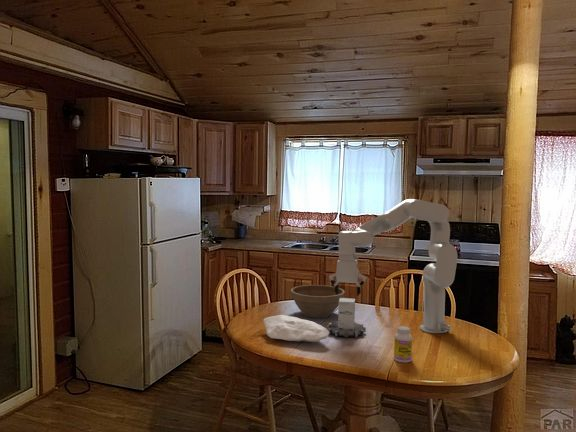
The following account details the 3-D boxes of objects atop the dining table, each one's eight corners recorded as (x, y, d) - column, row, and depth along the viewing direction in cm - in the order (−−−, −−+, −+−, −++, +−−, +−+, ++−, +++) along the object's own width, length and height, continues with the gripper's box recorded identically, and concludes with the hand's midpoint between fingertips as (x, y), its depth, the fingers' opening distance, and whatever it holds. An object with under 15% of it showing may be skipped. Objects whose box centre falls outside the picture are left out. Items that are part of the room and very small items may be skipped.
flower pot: (316, 304, 269) (316, 281, 268) (355, 315, 248) (355, 290, 247) (279, 313, 250) (279, 289, 249) (318, 325, 229) (318, 299, 228)
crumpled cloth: (283, 321, 231) (281, 303, 229) (344, 335, 210) (343, 316, 208) (251, 341, 213) (249, 322, 211) (315, 358, 192) (313, 337, 190)
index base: (353, 332, 218) (353, 330, 218) (346, 335, 215) (346, 333, 215) (330, 325, 229) (330, 323, 229) (323, 327, 225) (323, 325, 225)
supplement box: (337, 328, 215) (338, 301, 214) (339, 323, 222) (339, 297, 221) (353, 329, 213) (354, 302, 213) (354, 324, 221) (355, 298, 220)
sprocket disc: (364, 325, 226) (364, 313, 226) (366, 338, 209) (367, 324, 208) (326, 324, 228) (326, 312, 228) (326, 336, 210) (326, 323, 210)
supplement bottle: (396, 363, 182) (396, 330, 181) (392, 356, 188) (393, 325, 187) (413, 363, 182) (414, 330, 181) (409, 356, 188) (409, 325, 187)
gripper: (367, 256, 217) (367, 293, 218) (330, 256, 222) (331, 291, 223) (364, 259, 210) (365, 297, 211) (326, 258, 215) (327, 295, 216)
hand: (347, 294), depth 217 cm, fingers open, 9 cm apart
